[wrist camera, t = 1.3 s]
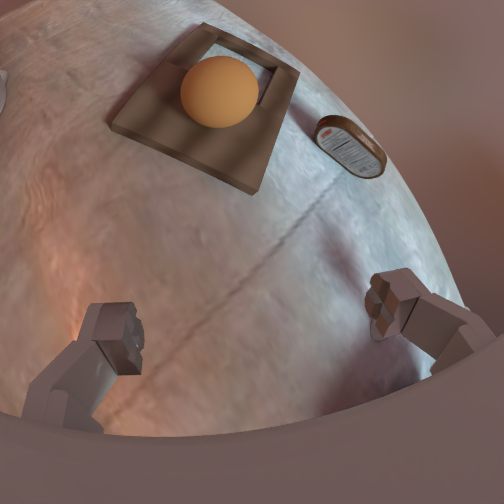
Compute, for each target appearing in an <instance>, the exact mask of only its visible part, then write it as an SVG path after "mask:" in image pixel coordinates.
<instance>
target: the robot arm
mask: <svg viewBox="0 0 504 504" xmlns="http://www.w3.org/2000/svg"><path fill="white" fill-rule="evenodd" d="M7 77H8V74H7V72H6V70H0V114H1V111H2V109H3V107H4V104H5V100H6V89H5V83H6V80H7ZM370 284H371V286H372V287H371V288H370V289H369V290H368V291H367V293H366V296H365V307H366V311H367V313H368V314H369V316H370V317H372V318H373V319H375V320H376V323H375V326H376V327H377V329H378V331H379V332H380V334H381V335H382V337H383V338H385V337H389V336H393V335H396V334H400V333H401V335H403V336H404V337H405V338H407V339H408V340H409V341H411V342H412V343H414V344H415V345H416V346H418V347H419V348H420V349H422V350H423V351H424V352H426V353H427V354H429V355H430V356H431V357H433V358H434V359H435V360H436V361H435V363H434V364H433V365H432V367H431V368H430V372H431V374H432V376H430V377H428V378H425V379H423V380H421V381H419V382H417V383H415V384H412V385H410V386H408V387H405V388H403V389H401V390H398V391H396V392H393V393H391V394H388V395H386V396H383V397H380V398H378V399H375V400H372V401H369V402H367V403H364V404H361V405H358V406H355V407H351V408H348V409H345V410H342V411H338V412H335V413H331V414H328V415H324V416H320V417H316V418H312V419H308V420H304V421H300V422H295V423H291V424H286V425H281V426H275V427H270V428H264V429H258V430H251V431H244V432H236V433H227V434H217V435H204V436H186V437H141V436H123V435H111V434H103V433H104V428H103V426H102V425H101V424H100V423H99V422H98V421H96V420H95V419H94V418H93V417H92V414H93V413H94V411H95V410H96V408H97V407H98V405H99V404H100V402H101V401H102V399H103V398H104V396H105V395H106V393H107V392H108V391H109V389H110V388H111V386H112V385H113V383H114V382H115V380H116V379H117V378H118V376H119V375H141V371H142V361H143V358H142V356H141V354H140V351H141V350H142V349H143V348H144V341H145V339H144V329H143V325H142V323H141V320H140V319H138V318H137V317H136V313H137V310H136V307H135V305H134V303H133V302H115V303H91V304H90V305H89V306H88V309H87V312H86V314H85V317H84V320H83V323H82V326H81V329H80V332H79V335H78V339H77V341H72V342H71V343H70V344H69V345H68V346H67V347H66V348H65V349H64V350H63V351H62V352H61V353H60V354H59V355H58V356H57V357H56V358H55V359H54V360H53V361H52V362H51V363H50V364H49V365H48V366H47V367H46V368H45V369H44V370H43V371H42V372H41V373H40V374H39V375H38V376H37V377H36V378H35V379H34V380H33V381H32V382H31V383H30V385H29V389H28V392H27V396H26V400H25V404H24V408H23V412H22V416H21V418H19V417H16V416H12V415H9V414H6V413H3V412H0V504H504V333H503V334H502V335H501V336H499V337H498V338H496V337H495V335H494V334H493V333H492V331H491V330H490V329H489V328H488V326H487V325H486V324H485V322H484V321H483V320H482V319H481V317H480V316H478V315H476V314H474V313H472V312H470V311H469V310H467V309H465V308H463V307H461V306H459V305H457V304H455V303H453V302H451V301H449V300H447V299H445V298H443V297H441V296H439V295H437V294H435V293H432V294H431V292H430V291H429V290H428V289H427V288H426V287H425V285H424V284H423V283H422V282H421V281H420V280H419V279H418V278H417V276H416V275H415V274H414V273H413V272H412V271H411V270H410V269H408V268H401V269H396V270H392V271H386V272H381V273H375V274H374V275H373V276H372V277H371V280H370Z"/></svg>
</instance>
